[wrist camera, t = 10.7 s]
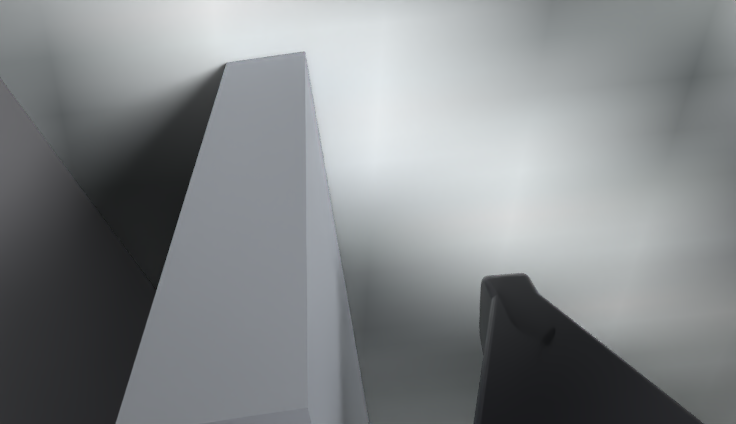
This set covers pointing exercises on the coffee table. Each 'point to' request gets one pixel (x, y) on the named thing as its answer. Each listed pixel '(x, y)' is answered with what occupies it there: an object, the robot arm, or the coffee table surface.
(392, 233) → the coffee table surface
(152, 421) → the gray rectangular panel
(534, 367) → the robot arm
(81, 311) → the grey rectangular block
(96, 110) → the coffee table surface
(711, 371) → the coffee table surface
